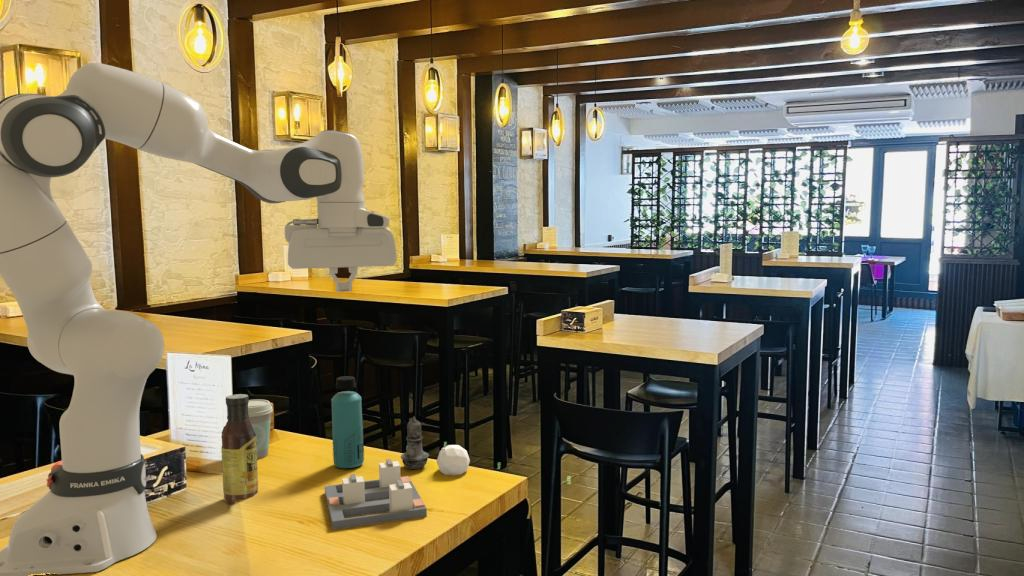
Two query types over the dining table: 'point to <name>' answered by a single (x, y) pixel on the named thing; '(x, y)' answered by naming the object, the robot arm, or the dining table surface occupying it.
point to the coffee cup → (260, 424)
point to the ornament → (453, 460)
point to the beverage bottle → (347, 425)
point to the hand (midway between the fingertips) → (343, 291)
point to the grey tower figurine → (414, 447)
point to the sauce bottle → (239, 451)
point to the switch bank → (369, 506)
